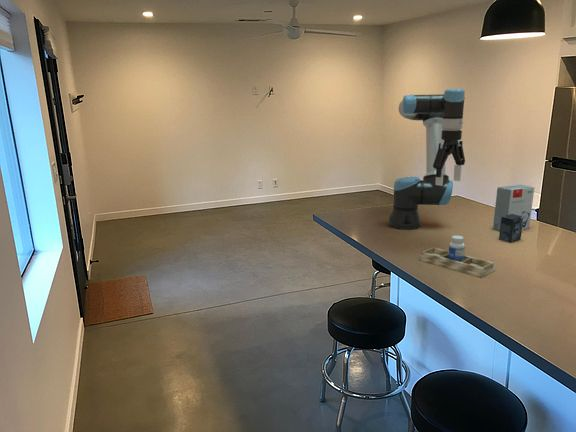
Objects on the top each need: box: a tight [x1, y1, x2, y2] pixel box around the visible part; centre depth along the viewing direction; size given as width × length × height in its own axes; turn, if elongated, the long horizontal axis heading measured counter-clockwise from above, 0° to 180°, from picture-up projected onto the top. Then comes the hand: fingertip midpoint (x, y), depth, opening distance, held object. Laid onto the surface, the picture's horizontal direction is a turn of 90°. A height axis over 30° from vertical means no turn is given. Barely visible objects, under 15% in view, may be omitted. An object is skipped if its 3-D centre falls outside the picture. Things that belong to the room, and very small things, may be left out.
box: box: [498, 214, 523, 243], centre depth 202 cm, size 8×6×11 cm
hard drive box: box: [492, 184, 535, 232], centre depth 216 cm, size 16×8×20 cm, turn 114°
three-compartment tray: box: [418, 246, 496, 278], centre depth 174 cm, size 25×10×3 cm, turn 41°
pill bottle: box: [448, 235, 466, 262], centre depth 173 cm, size 6×5×10 cm
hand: (448, 183), depth 189 cm, fingers open, 13 cm apart
